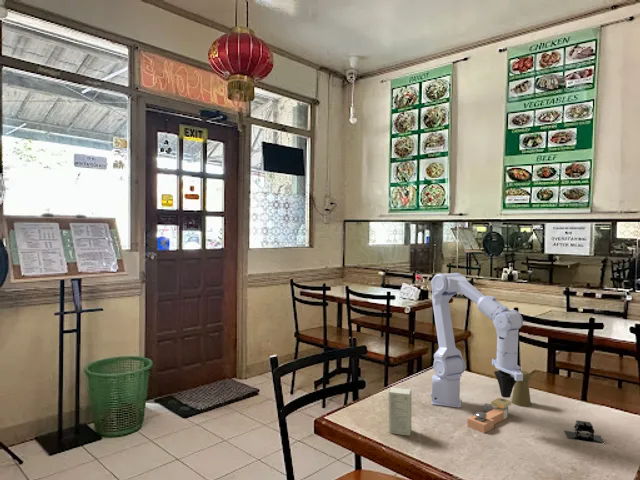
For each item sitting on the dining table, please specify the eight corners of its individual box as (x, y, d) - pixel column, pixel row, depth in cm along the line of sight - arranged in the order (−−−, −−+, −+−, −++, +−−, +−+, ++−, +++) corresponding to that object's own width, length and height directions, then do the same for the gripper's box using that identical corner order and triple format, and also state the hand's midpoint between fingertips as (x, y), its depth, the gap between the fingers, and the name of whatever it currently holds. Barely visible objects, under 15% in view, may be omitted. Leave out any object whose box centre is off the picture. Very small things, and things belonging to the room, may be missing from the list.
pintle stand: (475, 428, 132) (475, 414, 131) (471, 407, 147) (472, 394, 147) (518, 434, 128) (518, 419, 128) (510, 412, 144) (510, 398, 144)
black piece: (562, 440, 126) (562, 425, 126) (557, 429, 133) (557, 414, 133) (612, 448, 122) (613, 432, 122) (605, 436, 129) (605, 421, 129)
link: (484, 433, 129) (484, 424, 129) (467, 426, 133) (467, 418, 133) (510, 418, 139) (511, 411, 139) (494, 413, 143) (494, 405, 143)
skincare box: (411, 430, 130) (412, 389, 130) (409, 436, 126) (410, 394, 126) (390, 426, 132) (391, 386, 132) (387, 433, 128) (388, 391, 128)
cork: (527, 400, 155) (527, 368, 154) (533, 407, 149) (534, 374, 148) (509, 399, 155) (509, 368, 155) (514, 406, 149) (515, 373, 149)
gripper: (533, 358, 125) (532, 406, 125) (507, 344, 139) (506, 387, 140) (509, 358, 124) (508, 406, 125) (485, 344, 139) (484, 387, 139)
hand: (505, 396), depth 132 cm, fingers closed
